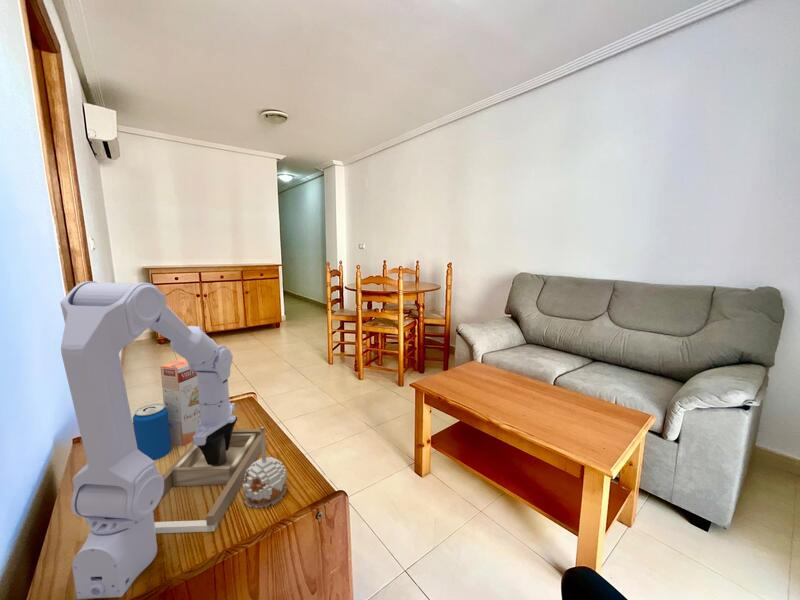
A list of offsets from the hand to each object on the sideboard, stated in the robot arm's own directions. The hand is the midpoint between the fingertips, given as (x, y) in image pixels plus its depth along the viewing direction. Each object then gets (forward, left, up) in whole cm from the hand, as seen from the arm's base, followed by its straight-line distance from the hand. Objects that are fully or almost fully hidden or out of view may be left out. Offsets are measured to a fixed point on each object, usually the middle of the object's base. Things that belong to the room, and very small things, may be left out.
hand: (218, 456), depth 74 cm
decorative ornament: (-9, -13, -3) cm, 16 cm away
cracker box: (+15, +12, -3) cm, 19 cm away
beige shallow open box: (0, 0, -2) cm, 2 cm away
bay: (-5, 0, -3) cm, 6 cm away
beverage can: (+5, +17, -3) cm, 18 cm away
